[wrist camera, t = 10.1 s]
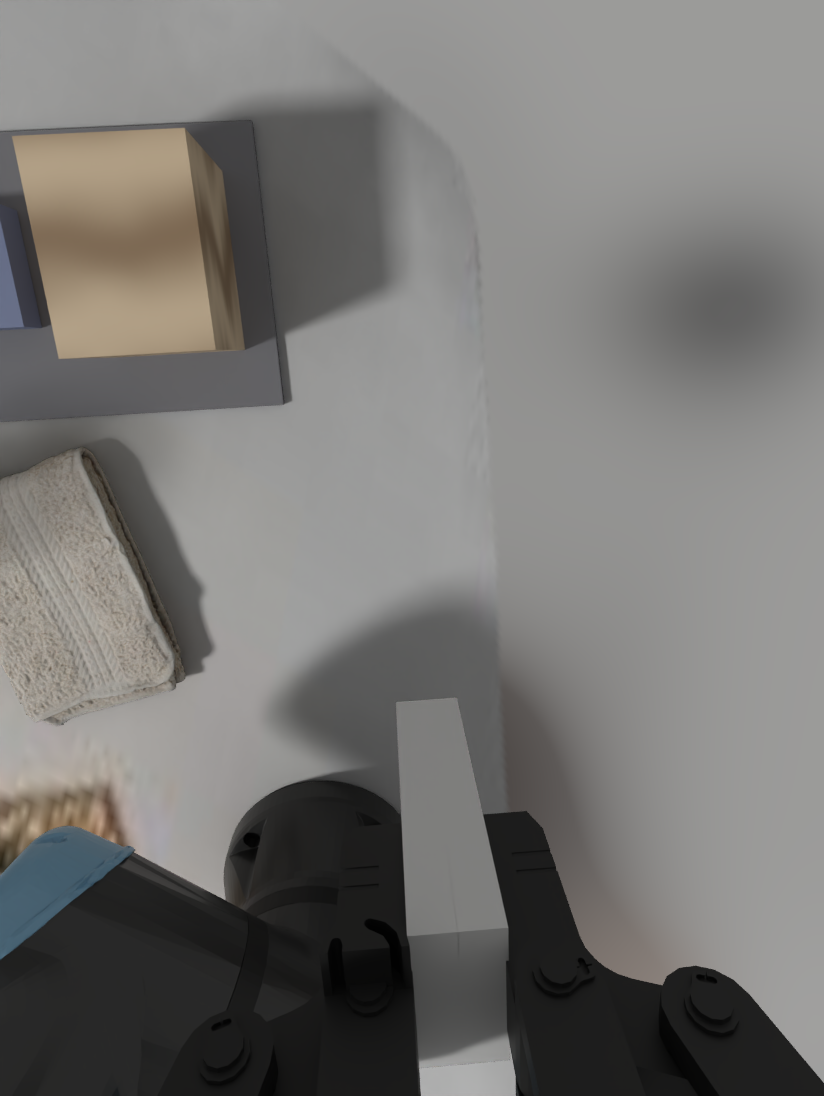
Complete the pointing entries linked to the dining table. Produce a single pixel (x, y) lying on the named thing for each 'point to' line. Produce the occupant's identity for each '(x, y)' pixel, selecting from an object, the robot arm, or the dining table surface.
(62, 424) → the dining table surface
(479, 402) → the dining table surface
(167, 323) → the oak block
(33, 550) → the washcloth
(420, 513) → the dining table surface
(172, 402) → the mat
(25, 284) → the card box
